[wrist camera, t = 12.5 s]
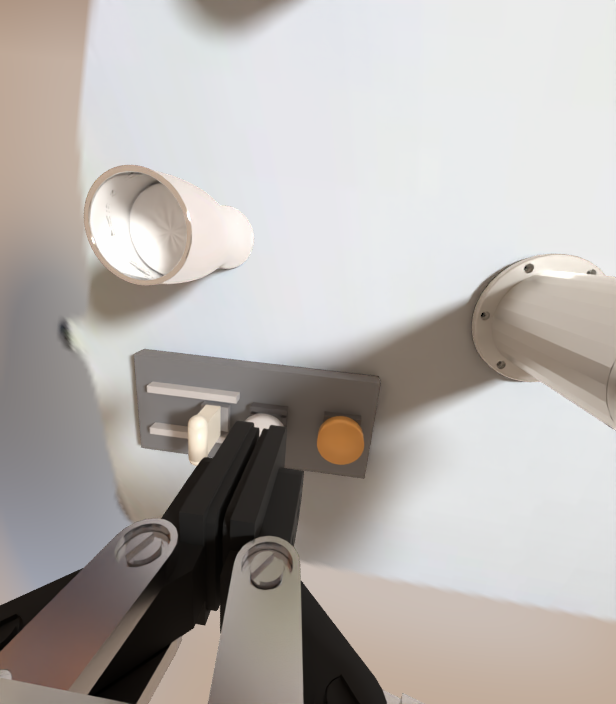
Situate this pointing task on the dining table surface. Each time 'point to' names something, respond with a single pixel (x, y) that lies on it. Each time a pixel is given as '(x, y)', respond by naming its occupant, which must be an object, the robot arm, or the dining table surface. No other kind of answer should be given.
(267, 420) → the white rounded thick disc
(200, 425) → the lever
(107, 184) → the tall white cup
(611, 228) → the dining table surface
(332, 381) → the panel
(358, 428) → the orange button
